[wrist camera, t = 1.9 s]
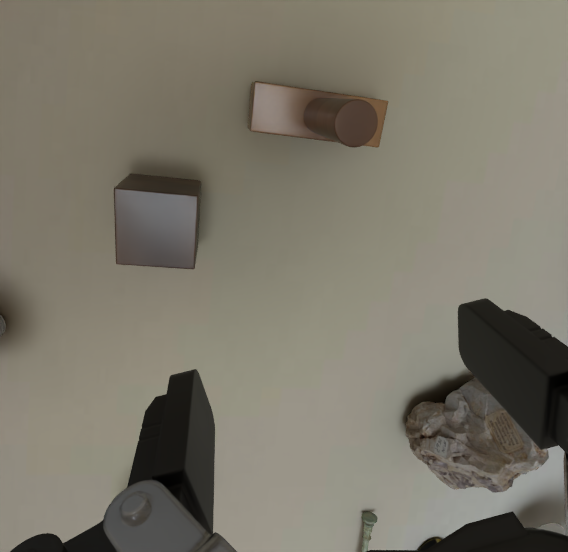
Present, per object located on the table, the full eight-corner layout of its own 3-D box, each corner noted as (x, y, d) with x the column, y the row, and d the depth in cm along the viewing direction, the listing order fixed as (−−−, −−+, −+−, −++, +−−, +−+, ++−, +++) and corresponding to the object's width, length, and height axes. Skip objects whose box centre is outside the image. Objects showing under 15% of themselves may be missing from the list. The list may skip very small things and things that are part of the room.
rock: (383, 392, 45) (403, 497, 40) (451, 364, 35) (488, 499, 30) (453, 388, 47) (478, 486, 43) (535, 362, 37) (579, 486, 33)
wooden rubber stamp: (247, 128, 29) (261, 144, 20) (251, 82, 28) (268, 75, 19) (367, 143, 31) (433, 165, 21) (376, 100, 30) (449, 103, 20)
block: (130, 240, 31) (115, 264, 27) (129, 173, 29) (113, 187, 25) (198, 245, 32) (194, 269, 28) (201, 180, 30) (198, 195, 26)
